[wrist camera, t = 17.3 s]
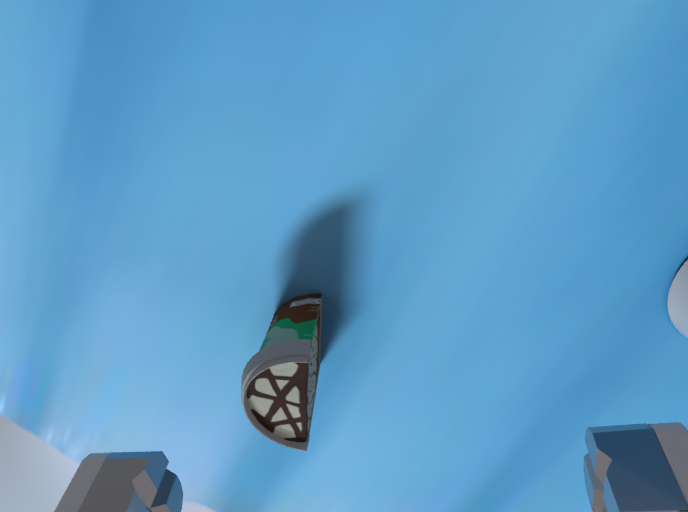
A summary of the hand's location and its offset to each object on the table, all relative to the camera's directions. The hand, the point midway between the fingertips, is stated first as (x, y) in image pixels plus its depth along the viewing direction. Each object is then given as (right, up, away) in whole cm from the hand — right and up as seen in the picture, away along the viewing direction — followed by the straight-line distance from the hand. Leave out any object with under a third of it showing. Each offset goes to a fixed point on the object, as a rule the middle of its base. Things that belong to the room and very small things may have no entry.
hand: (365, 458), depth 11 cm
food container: (-6, -3, +46) cm, 46 cm away
